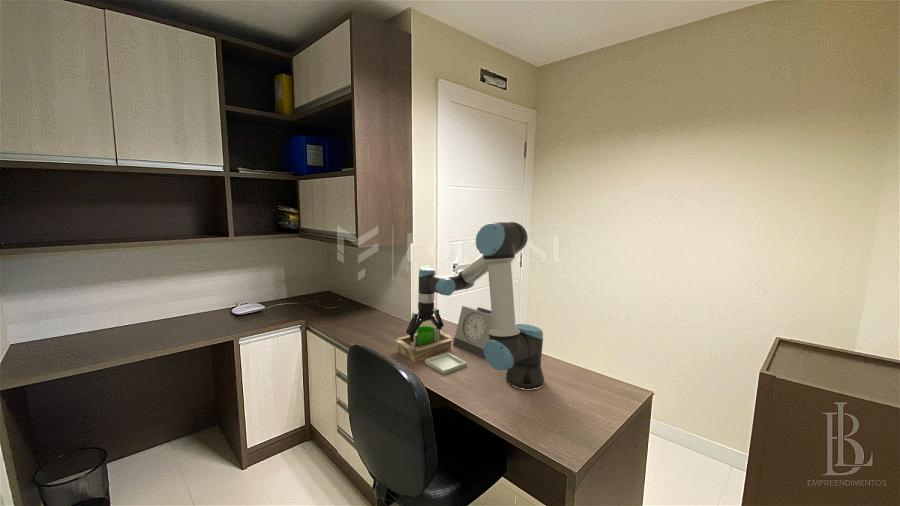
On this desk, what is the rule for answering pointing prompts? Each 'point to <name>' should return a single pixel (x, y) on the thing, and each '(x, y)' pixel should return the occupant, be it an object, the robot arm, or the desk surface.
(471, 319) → the alarm clock
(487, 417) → the desk surface
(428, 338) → the cup
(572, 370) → the desk surface
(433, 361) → the tray
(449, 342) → the wooden box
